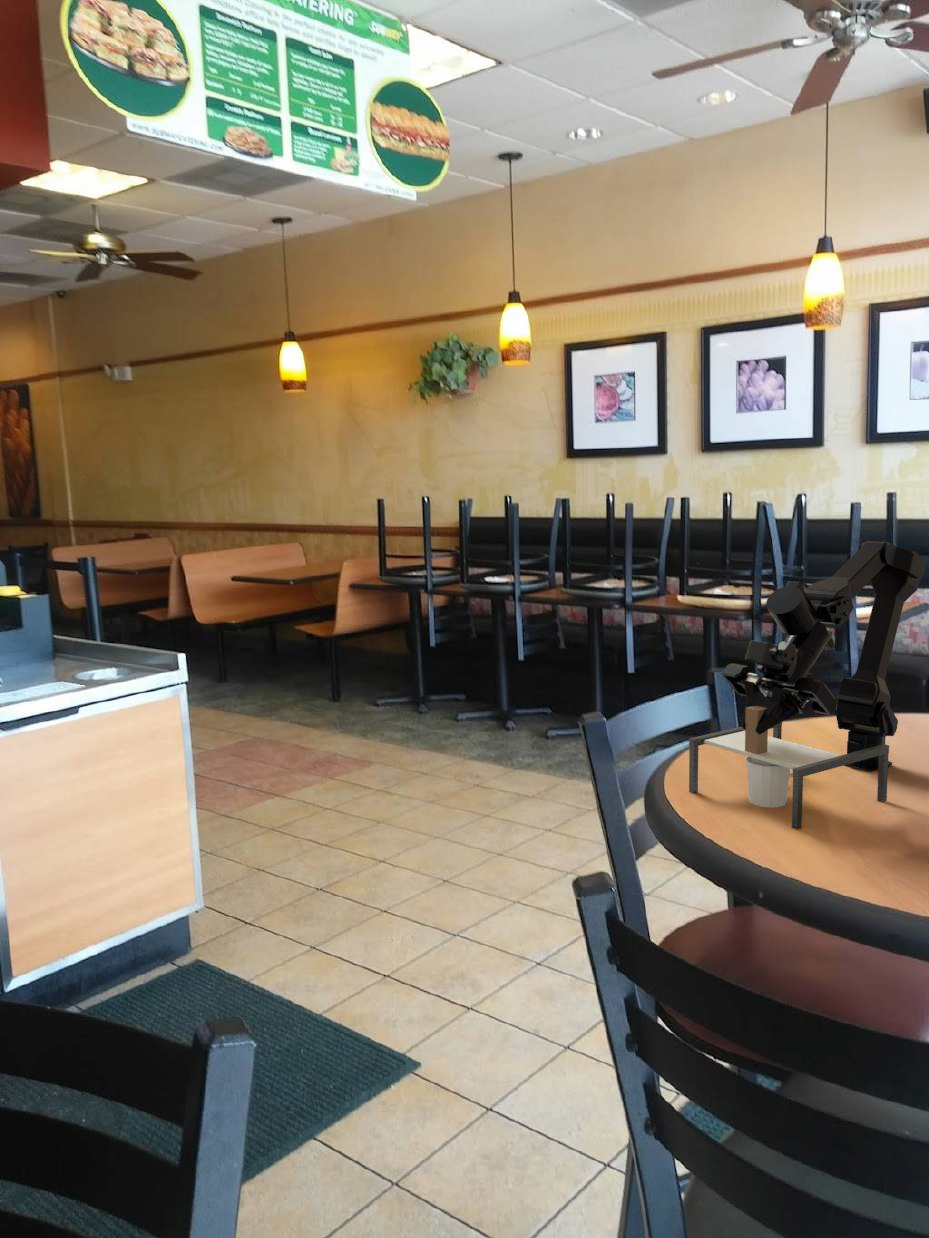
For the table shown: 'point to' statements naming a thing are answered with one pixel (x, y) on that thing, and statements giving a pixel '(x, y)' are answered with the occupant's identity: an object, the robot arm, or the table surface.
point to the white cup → (767, 783)
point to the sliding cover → (767, 745)
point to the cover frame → (800, 768)
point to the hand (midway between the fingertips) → (750, 730)
